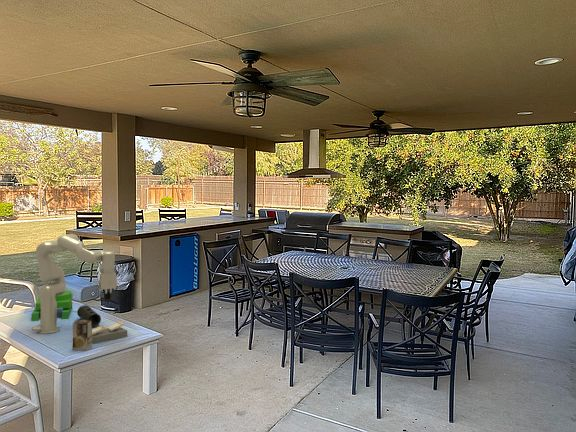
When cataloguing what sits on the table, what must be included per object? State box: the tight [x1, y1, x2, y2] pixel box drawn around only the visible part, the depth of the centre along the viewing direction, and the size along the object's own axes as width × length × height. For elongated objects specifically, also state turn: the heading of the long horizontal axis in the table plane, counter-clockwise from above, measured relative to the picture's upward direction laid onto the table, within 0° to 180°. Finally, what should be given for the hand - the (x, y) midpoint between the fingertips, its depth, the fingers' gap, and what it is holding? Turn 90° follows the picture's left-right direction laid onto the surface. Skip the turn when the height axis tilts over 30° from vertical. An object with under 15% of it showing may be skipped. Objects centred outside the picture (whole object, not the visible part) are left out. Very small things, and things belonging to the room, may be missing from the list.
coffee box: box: [72, 319, 93, 351], centre depth 258 cm, size 9×6×16 cm
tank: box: [31, 289, 73, 322], centre depth 322 cm, size 24×35×16 cm
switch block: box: [92, 326, 128, 345], centre depth 278 cm, size 22×12×5 cm, turn 138°
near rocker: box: [92, 324, 107, 335], centre depth 274 cm, size 9×5×1 cm, turn 138°
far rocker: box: [106, 321, 125, 331], centre depth 283 cm, size 9×5×1 cm, turn 138°
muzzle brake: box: [76, 304, 102, 329], centre depth 308 cm, size 10×28×10 cm, turn 39°
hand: (107, 299), depth 278 cm, fingers closed
